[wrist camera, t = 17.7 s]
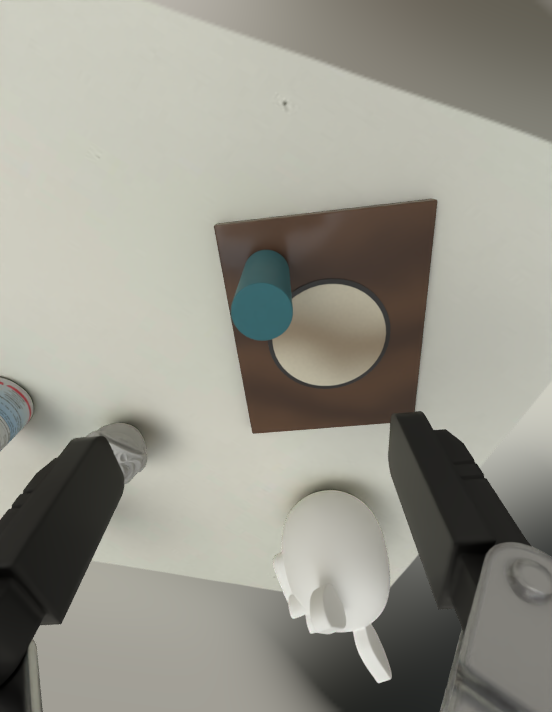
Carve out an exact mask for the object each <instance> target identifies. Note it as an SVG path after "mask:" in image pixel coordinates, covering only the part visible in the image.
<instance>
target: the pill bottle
mask: <svg viewBox="0 0 552 712" xmlns="http://www.w3.org/2000/svg"><path fill="white" fill-rule="evenodd" d="M32 415H33V403H32V400H31V398H30V396H29V395H28V393H27V392H26V391H25V390H24V389H23V388H21V387H20V386H19V385H17V384H16V383H14V382H12V381H10V380H7V379H4V378H0V451H1V450H2V449H3V448H4V447H5V446H6V445H7V444H8V443H9V442H10V441H11V440H12V439H13V438H14V437H15V436H16V434H17V433H18V432H19V431H20V430H21V429H22V428H23V427H24V426H25V425H26V424H27V423H28V422H29V421H30V419H31V418H32Z"/></svg>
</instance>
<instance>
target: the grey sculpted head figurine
mask: <svg viewBox="0 0 552 712" xmlns="http://www.w3.org/2000/svg"><path fill="white" fill-rule="evenodd" d="M94 436H104V437H105V438H106V439H107V440H108V442H109V444H110V446H111V448H112V450H113V452H114V455H115V457H116V459H117V461H118V463H119V465H120V467H121V470H122V472H123V475H124V484H127V483H128V482H129V481H131V479H132V478H133V477H134V476H135V475H136V474H137V473H138V472H140V471H142V470H143V468H144V467H145V465H146V463H147V454H146V444H145V442H144V439H143V436H142V435H141V433H140V432H139V431H138V430H137V429H136V428H135V427H133V426H132V425H129V424H126V423H114V424H110V425H106V426H103V427H101V428H100V429H98V430H97V431H94V432H91V433H90V434H89V435H87V436H86V437H94Z"/></svg>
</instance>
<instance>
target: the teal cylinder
mask: <svg viewBox="0 0 552 712" xmlns="http://www.w3.org/2000/svg"><path fill="white" fill-rule="evenodd" d="M231 317H232V320H233V323H234V325H235V326H236V328H237V329H238V330H239V331H240V332H241V333H242V334H243V335H245V336H247V337H249V338H251V339H254V340H260V341H266V340H271V339H274V338H277V337H278V336H280V335H281V334H283V333H284V332H285V331H286V330H287V329H288V327H289V326H290V324H291V321H292V318H293V305H292V294H291V283H290V273H289V267H288V264H287V262H286V260H285V259H284V257H283V256H282V255H280V254H279V253H277V252H275V251H272V250H260V251H257V252H255V253H254V254H252V255H251V256H250V257H249V258H248V260H247V261H246V263H245V266H244V269H243V272H242V275H241V278H240V281H239V284H238V287H237V290H236V293H235V296H234V298H233V301H232V305H231Z"/></svg>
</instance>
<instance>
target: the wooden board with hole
mask: <svg viewBox="0 0 552 712" xmlns="http://www.w3.org/2000/svg"><path fill="white" fill-rule="evenodd" d="M436 209H437V200H435V199H425V200H417V201H408V202H399V203H391V204H382V205H374V206H365V207H356V208H348V209H339V210H330V211H322V212H313V213H305V214H296V215H287V216H279V217H270V218H261V219H253V220H244V221H236V222H227V223H218V224H216V225H215V226H214V229H215V235H216V240H217V245H218V251H219V256H220V262H221V267H222V272H223V278H224V283H225V288H226V294H227V299H228V304H229V310H230V315H231V305H232V301H233V298H234V296H235V293H236V290H237V287H238V284H239V281H240V278H241V275H242V272H243V269H244V266H245V263H246V261H247V260H248V258H249V257H250V256H251V255H252V254H254V253H255V252H257V251H260V250H272V251H275V252H277V253H279V254H280V255H282V256H283V257H284V259H285V260H286V262H287V264H288V267H289V273H290V283H291V294H292V305H293V318H292V321H291V324H290V326H289V327H288V329H287V330H286V331H285V332H284V333H283V334H281V335H280V336H278V337H277V338H274V339H271V340H266V341H260V340H254V339H251V338H249V337H247V336H245V335H243V334H242V333H241V332H240V331H239V330H238V329H237V328H236V326H235V325H234V323H233V320H232V317H231V321H232V326H233V331H234V337H235V342H236V347H237V353H238V358H239V363H240V369H241V374H242V380H243V385H244V390H245V396H246V401H247V406H248V412H249V417H250V422H251V428H252V433H253V434H254V433H267V432H280V431H293V430H306V429H318V428H331V427H344V426H357V425H370V424H382V423H390V422H391V416H392V414H394V413H406V412H415V402H416V393H417V384H418V375H419V366H420V356H421V347H422V338H423V329H424V319H425V310H426V301H427V292H428V283H429V273H430V264H431V255H432V246H433V236H434V227H435V218H436Z"/></svg>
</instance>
